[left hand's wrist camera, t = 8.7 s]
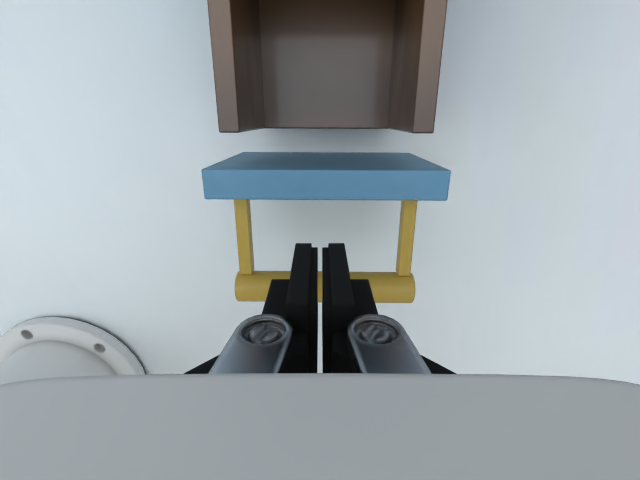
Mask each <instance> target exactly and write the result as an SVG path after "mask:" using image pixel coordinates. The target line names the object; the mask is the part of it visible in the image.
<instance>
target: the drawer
mask: <svg viewBox="0 0 640 480" xmlns="http://www.w3.org/2000/svg"><path fill="white" fill-rule="evenodd" d="M207 1H208V13H209V24H210V35H211V46H212V57H213V69H214V80H215V91H216V102H217V113H218V125H219V132H221V133H239V132H245V131H251V130H257V129H263V128H334V129H393V130H399V131H404V132H410V133H433V132H434V122H435V113H436V103H437V94H438V85H439V75H440V66H441V56H442V47H443V37H444V28H445V18H446V9H447V0H207ZM450 173H451V171H450V170H448V169H445V168H443V167H441V166H438V165H436V164H434V163H431V162H429V161H426V160H424V159H422V158H419V157H417V156H415V155H412V154H410V153H310V152H243V153H240V154H238V155H236V156H233V157H231V158H228V159H226V160H223V161H221V162H219V163H216V164H214V165H211V166H209V167H207V168H204V169H202V178H203V187H204V197H205V199H234V206H235V218H236V231H237V243H238V256H239V268H240V271H239V272H238V273H237V276H236V280H235V296H236V299H237V300H238V301H266V298H267V294H268V290H269V287H270V283H271V280H272V279H290V274H291V271H254V258H253V243H252V228H251V213H250V199H275V200H402V201H401V213H400V225H399V238H398V250H397V262H396V272H349V274H350V279H368V280H369V283H370V287H371V290H372V294H373V298H374V301H375V303H412V302H413V300H414V297H415V281H414V277H413V274H412V273H410V271H411V260H412V250H413V240H414V230H415V219H416V209H417V200H432V201H446V200H447V197H448V189H449V181H450ZM318 302H322V272H318Z"/></svg>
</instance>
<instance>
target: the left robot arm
mask: <svg viewBox="0 0 640 480" xmlns="http://www.w3.org/2000/svg"><path fill="white" fill-rule="evenodd" d="M317 342H318V248H312V246H311V243H296V245H295V251H294V257H293V262H292V268H291V274H290V279H272V280H271V283H270V287H269V290H268V294H267V298H266V301H265V305H264V309H263V312H262V315H256V316H253V317H250V318H248V319H246V320H245V321H243V322H241V323H240V325H239V326H238V327H237V328H236V330H235V331H234V333H233V335H232V336H231V338H230V339H229V341H228V343H227V344H226V346H225V347H224V349H223V351H222V352H221V354H220V355H218V356H216V357H214V358H213V359H211V360H209V361H207V362H205V363H203V364H201V365H199V366H197V367H196V368H194V369H192V370H190V371H188V372H186V373H184V374H157V375H145V372H144V370H143V367H142V366H141V364H140V363H139V361H138V360H137V358H136V357H135V355H134V354H133V353H132V352H131V351H130V350H129V349H128V348H127V347H126V346H125V345H124V344H123V343H122V342H120V341H119V340H118V339H117V338H115V337H114V336H112V335H110V334H109V333H107V332H105V331H104V330H102V329H100V328H98V327H95V326H93V325H90V324H88V323H85V322H82V321H78V320H74V319H70V318H61V317H40V318H36V319H31V320H27V321H25V322H23V323H21V324H18V325H16V326H15V327H13V328H12V329H11V330H9V331H8V332H6V333H5V334H4V335H2V336H1V337H0V480H640V385H639V384H634V383H628V382H622V381H615V380H607V379H598V378H585V377H567V376H533V375H491V374H456V373H454V372H452V371H450V370H448V369H446V368H444V367H443V366H441V365H439V364H437V363H435V362H433V361H431V360H429V359H427V358H426V357H424V356H422V355H420V354H419V352H418V351H417V349H416V347H415V346H414V344H413V343H412V341H411V339H410V338H409V336H408V335H407V333H406V331H405V330H404V328H403V327H402V326H401V325H400V323H399V322H397V321H395V320H394V319H392V318H390V317H387V316H384V315H378V312H377V309H376V305H375V301H374V298H373V294H372V290H371V287H370V283H369V280H368V279H350V274H349V268H348V262H347V257H346V251H345V245H344V243H329V245H328V248H322V342H323V373H317Z"/></svg>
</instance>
